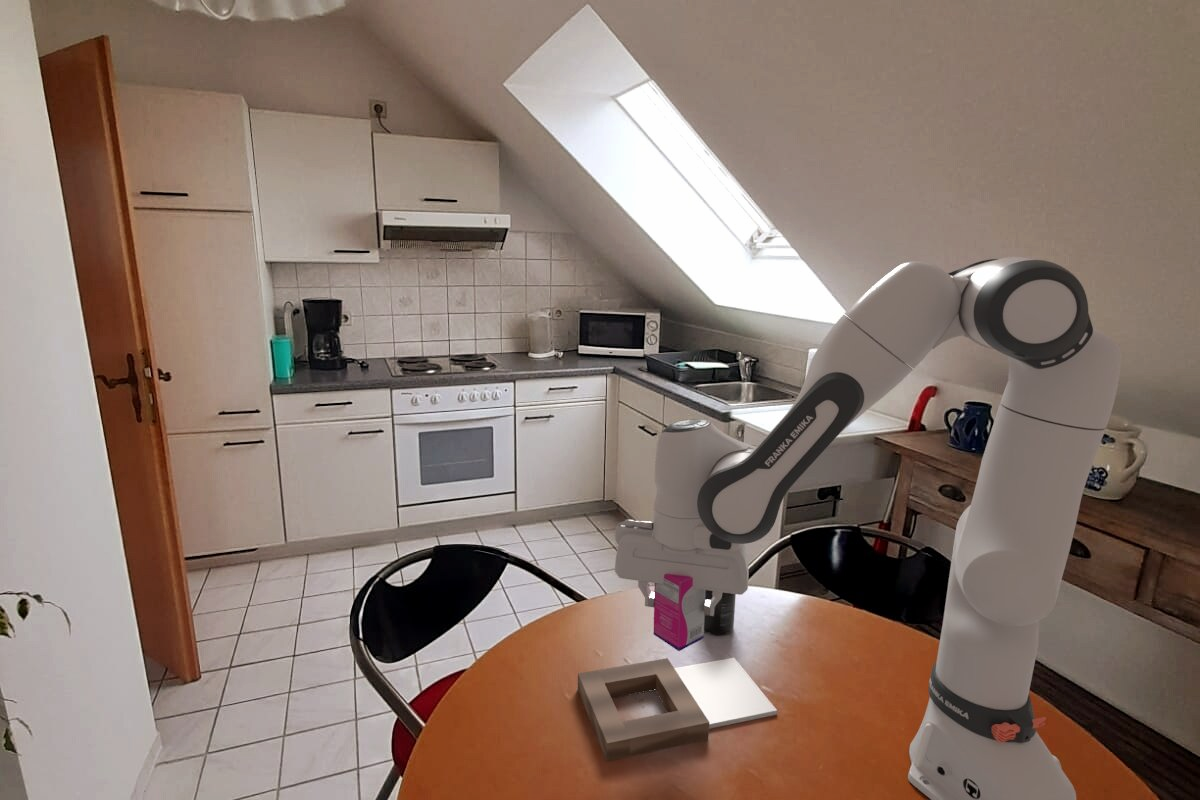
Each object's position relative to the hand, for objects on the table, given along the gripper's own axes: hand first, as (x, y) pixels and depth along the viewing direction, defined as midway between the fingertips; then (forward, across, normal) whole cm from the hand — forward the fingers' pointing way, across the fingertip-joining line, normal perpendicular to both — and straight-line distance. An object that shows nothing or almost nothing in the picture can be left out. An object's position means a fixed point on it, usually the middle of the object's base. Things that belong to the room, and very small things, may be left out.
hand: (679, 609), depth 98 cm
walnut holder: (+17, -5, -3) cm, 18 cm away
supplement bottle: (+18, +4, +25) cm, 31 cm away
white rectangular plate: (+18, +7, +6) cm, 20 cm away
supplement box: (+5, 0, 0) cm, 5 cm away
